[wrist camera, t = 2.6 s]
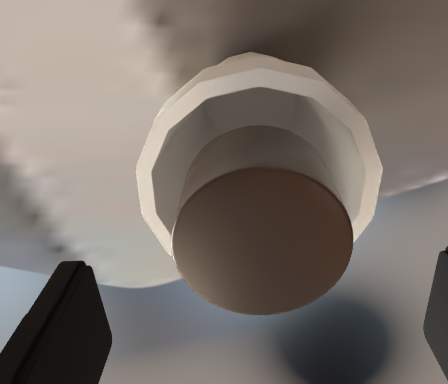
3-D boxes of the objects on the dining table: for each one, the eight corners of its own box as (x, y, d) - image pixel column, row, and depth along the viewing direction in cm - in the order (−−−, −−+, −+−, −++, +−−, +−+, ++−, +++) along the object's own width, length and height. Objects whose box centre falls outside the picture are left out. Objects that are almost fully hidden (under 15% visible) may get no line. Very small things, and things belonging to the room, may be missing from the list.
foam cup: (312, 164, 29) (359, 288, 17) (186, 164, 29) (151, 285, 18) (326, 23, 24) (403, 66, 13) (176, 25, 25) (121, 68, 13)
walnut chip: (305, 100, 13) (325, 138, 10) (346, 228, 16) (372, 290, 13) (160, 156, 15) (138, 205, 12) (218, 266, 17) (213, 332, 14)
